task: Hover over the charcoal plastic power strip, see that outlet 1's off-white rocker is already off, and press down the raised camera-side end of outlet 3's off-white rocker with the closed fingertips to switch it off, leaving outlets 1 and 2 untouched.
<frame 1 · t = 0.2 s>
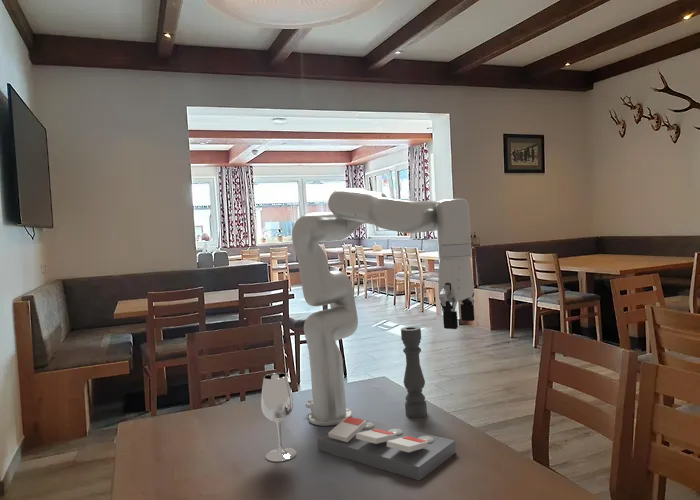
hand: (459, 324, 124), 31 cm above the table, fingers open, 9 cm apart
candle holder: (416, 414, 153), on the table
power strip: (385, 451, 129), on the table
rocker 1: (347, 428, 132), point 5 cm above the table, hinge at 12.0°
rocker 3: (407, 443, 121), point 5 cm above the table, hinge at -12.0°
wineglass: (281, 456, 131), on the table
rocker 2: (376, 435, 127), point 5 cm above the table, hinge at -12.0°
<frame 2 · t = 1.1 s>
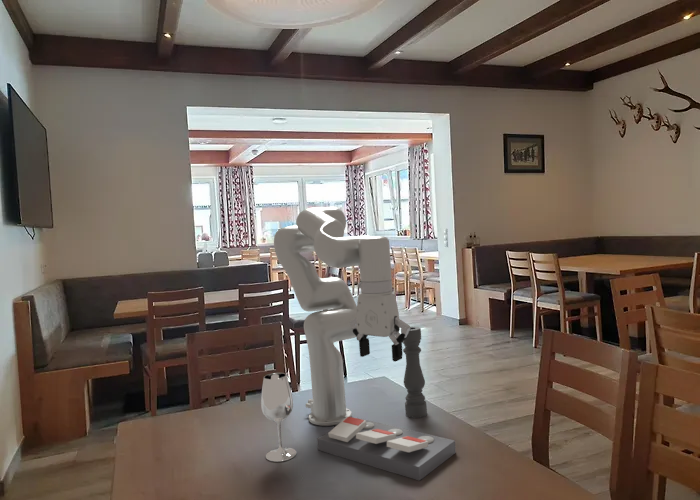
hand: (380, 357, 128), 23 cm above the table, fingers open, 9 cm apart
nothing on the table moved.
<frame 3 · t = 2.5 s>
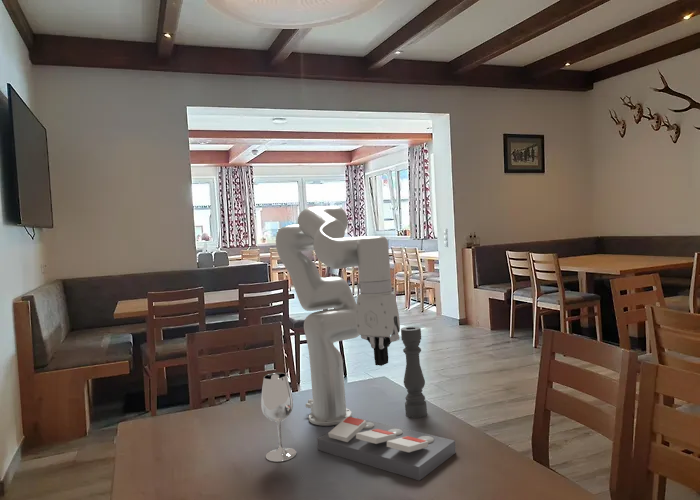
hand: (381, 364, 127), 22 cm above the table, fingers closed
nothing on the table moved.
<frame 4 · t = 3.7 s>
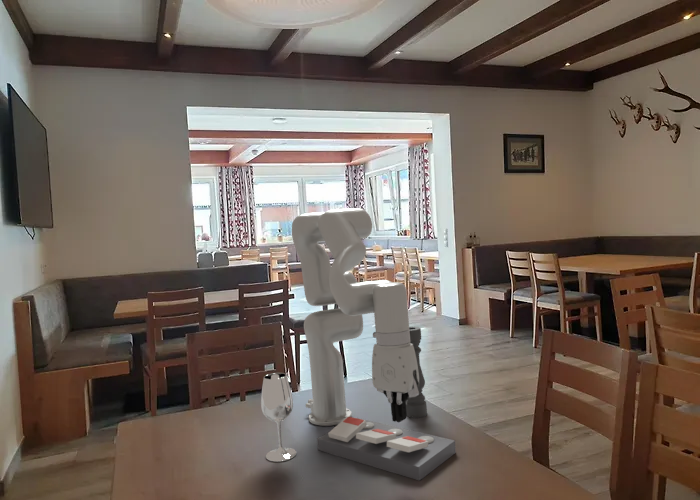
hand: (399, 419, 118), 12 cm above the table, fingers closed
nothing on the table moved.
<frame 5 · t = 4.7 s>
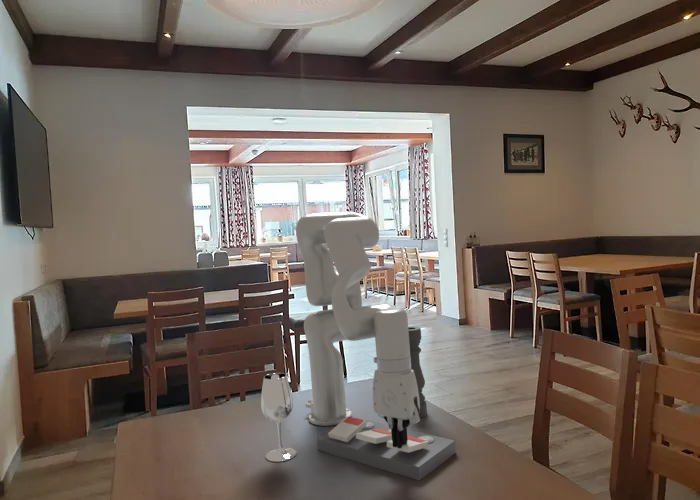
hand: (400, 445, 118), 6 cm above the table, fingers closed
rocker 3: (407, 443, 121), point 5 cm above the table, hinge at -11.3°, touching gripper
everything else where it was.
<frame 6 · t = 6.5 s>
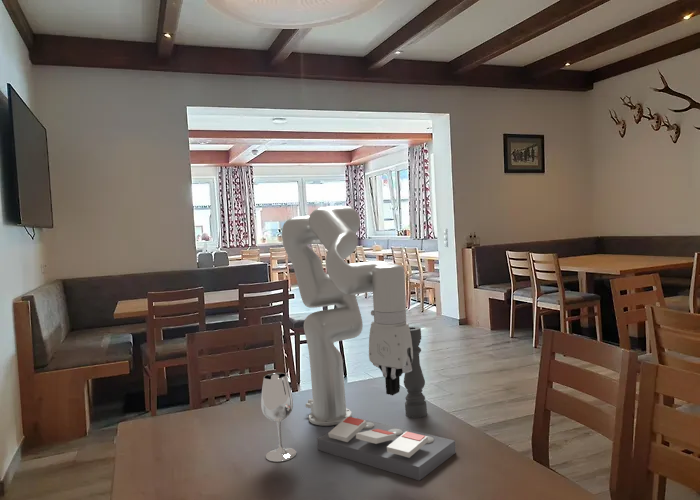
hand: (392, 393, 125), 15 cm above the table, fingers closed
rocker 3: (407, 443, 121), point 5 cm above the table, hinge at 5.6°
everything else where it was.
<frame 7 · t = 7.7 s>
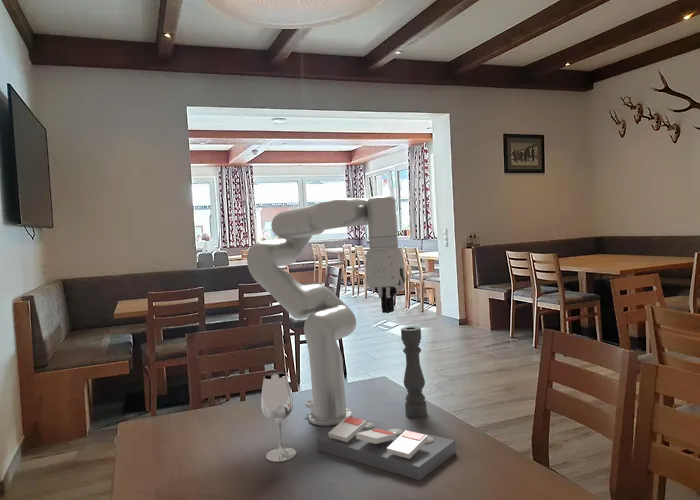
hand: (388, 312, 140), 32 cm above the table, fingers closed
rocker 3: (407, 443, 121), point 5 cm above the table, hinge at 9.8°
everything else where it was.
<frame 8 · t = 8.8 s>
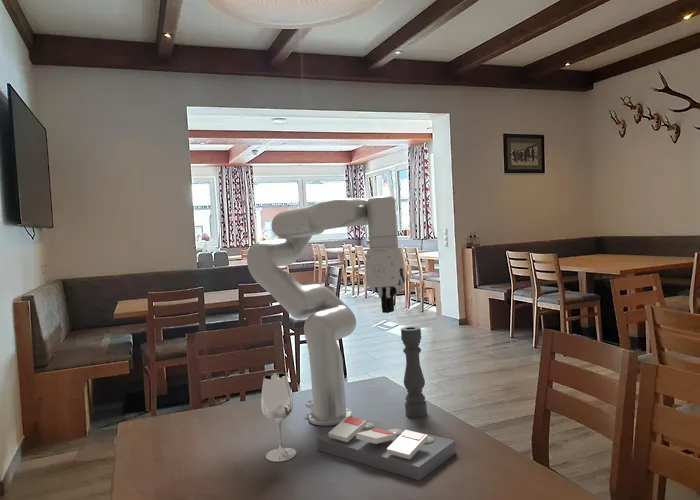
hand: (388, 312, 140), 32 cm above the table, fingers closed
rocker 3: (407, 443, 121), point 5 cm above the table, hinge at 12.0°
everything else where it was.
at the end: rocker 3 at +12° (first picture: -12°); rocker 1 at +12° (first picture: +12°); rocker 2 at -12° (first picture: -12°) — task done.
